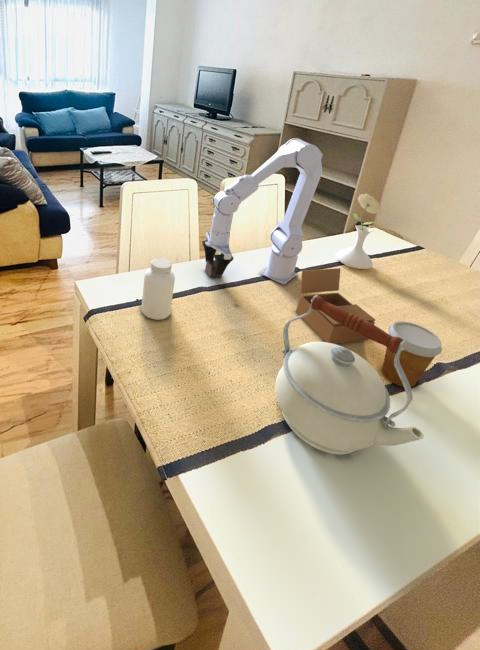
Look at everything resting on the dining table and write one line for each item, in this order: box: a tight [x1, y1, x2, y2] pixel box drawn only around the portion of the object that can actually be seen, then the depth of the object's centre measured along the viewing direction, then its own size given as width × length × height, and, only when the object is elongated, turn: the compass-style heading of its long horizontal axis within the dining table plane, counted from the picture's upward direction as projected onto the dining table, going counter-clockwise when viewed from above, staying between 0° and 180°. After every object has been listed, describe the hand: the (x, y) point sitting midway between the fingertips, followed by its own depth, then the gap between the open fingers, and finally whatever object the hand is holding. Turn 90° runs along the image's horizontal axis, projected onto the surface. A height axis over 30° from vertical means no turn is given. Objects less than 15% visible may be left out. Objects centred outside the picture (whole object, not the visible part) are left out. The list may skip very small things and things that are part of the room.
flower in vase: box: [335, 193, 381, 270], centre depth 131 cm, size 13×11×25 cm
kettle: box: [274, 295, 425, 456], centre depth 69 cm, size 25×18×25 cm
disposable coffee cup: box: [381, 320, 443, 388], centre depth 85 cm, size 10×10×12 cm
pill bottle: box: [141, 257, 176, 321], centre depth 101 cm, size 8×8×15 cm
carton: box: [295, 292, 376, 345], centre depth 101 cm, size 13×12×6 cm
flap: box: [300, 267, 341, 295], centre depth 106 cm, size 6×12×1 cm
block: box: [204, 259, 223, 279], centre depth 123 cm, size 4×4×4 cm
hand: (213, 268), depth 123 cm, fingers open, 7 cm apart
